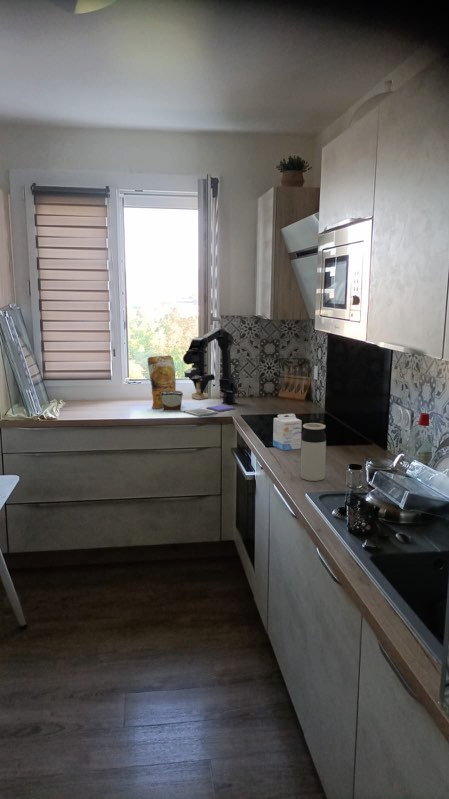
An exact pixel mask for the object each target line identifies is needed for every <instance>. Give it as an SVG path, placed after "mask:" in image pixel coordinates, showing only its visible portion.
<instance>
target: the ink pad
mask: <svg viewBox="0 0 449 799" xmlns="http://www.w3.org/2000/svg"><path fill="white" fill-rule="evenodd" d="M205 409H208V410H212V411H215V412H218V413H222V412H227V411H233V410H236V408H235V407H234V406H233V407H232V406H230V405H226V404H225V405H224V404H218V405H212V406H207V407H206V408H205Z"/></svg>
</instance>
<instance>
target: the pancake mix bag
mask: <svg viewBox="0 0 449 799" xmlns="http://www.w3.org/2000/svg"><path fill="white" fill-rule="evenodd" d="M173 357H174V356H172V355H170V354H169V355H159V356H150V357H148V358H147V367H148V368H147V369H148V372H149V380H150V384H151V394H152V395H151V396H152V406H151V407H152V409H163V404H162V396H160V395H161V392H163V391H177V390H176V387H177V386H176V384H177V383H176V382H177V381H176V379H177V378H176V369H175V362H174V358H173Z"/></svg>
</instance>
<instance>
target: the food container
mask: <svg viewBox="0 0 449 799" xmlns="http://www.w3.org/2000/svg"><path fill="white" fill-rule="evenodd" d="M160 396H162V404H163V408H162V409H163V410H162V411H164V412H165V411H166V412H169V411H170V412H182V401H183V396H184V393H183V391H181V390H176V391H163V392H161V395H160Z"/></svg>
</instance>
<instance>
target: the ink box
mask: <svg viewBox="0 0 449 799" xmlns="http://www.w3.org/2000/svg"><path fill="white" fill-rule="evenodd" d="M272 429H273V430H272V432H273V433H272V446H273V447H274V448H277V449H278V450H281V451H291V450H298V449H299V450H300V449H301V446H302V420H301V419H299V418H297V417H296V414H295V413H284V414H282V413H281V414H277V417H273V428H272Z"/></svg>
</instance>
